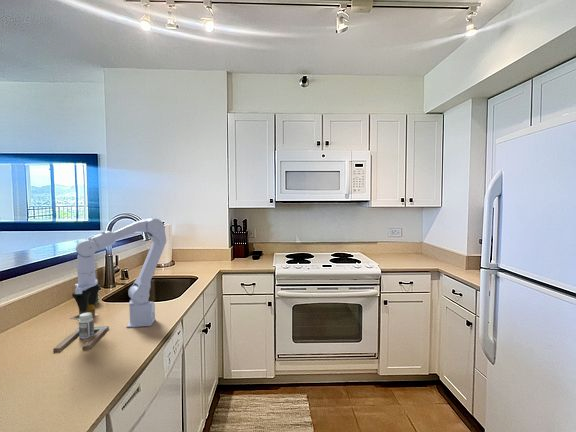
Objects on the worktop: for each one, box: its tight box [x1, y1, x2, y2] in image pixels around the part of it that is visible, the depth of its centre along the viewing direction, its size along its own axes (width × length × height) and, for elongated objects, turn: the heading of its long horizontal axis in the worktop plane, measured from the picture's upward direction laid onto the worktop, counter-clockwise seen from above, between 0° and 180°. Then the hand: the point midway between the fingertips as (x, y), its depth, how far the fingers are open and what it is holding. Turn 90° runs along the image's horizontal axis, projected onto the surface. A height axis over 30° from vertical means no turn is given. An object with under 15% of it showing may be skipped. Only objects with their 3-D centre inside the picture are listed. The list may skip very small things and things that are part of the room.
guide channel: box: [52, 329, 107, 353], centre depth 118 cm, size 11×15×1 cm
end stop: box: [74, 325, 109, 334], centre depth 127 cm, size 11×3×1 cm, turn 99°
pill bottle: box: [78, 312, 95, 339], centre depth 123 cm, size 5×5×8 cm
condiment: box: [70, 291, 100, 321], centre depth 143 cm, size 7×8×12 cm
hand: (87, 307), depth 124 cm, fingers open, 7 cm apart
